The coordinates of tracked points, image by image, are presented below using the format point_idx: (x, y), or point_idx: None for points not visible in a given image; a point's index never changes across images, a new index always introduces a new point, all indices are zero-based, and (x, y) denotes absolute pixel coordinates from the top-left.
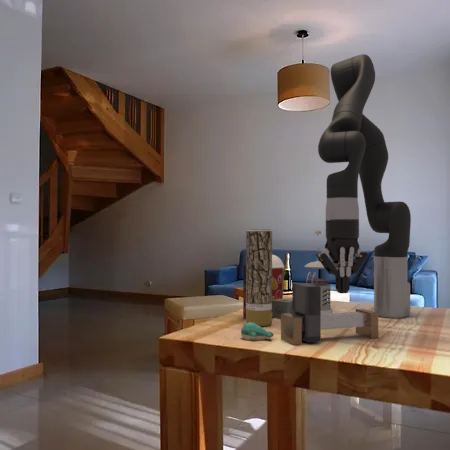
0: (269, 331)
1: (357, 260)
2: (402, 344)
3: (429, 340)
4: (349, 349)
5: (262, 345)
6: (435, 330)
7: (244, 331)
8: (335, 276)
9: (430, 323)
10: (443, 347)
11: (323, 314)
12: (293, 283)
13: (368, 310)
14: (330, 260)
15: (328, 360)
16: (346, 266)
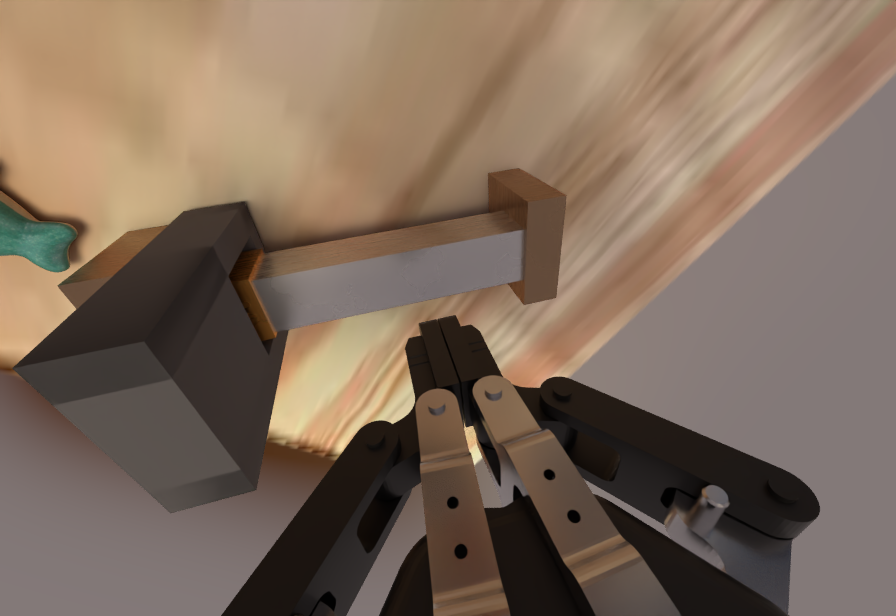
0: (40, 245)
1: (639, 497)
2: (527, 326)
3: (622, 294)
4: (362, 364)
5: (46, 316)
6: (755, 177)
7: None
8: (413, 409)
9: (872, 46)
10: (591, 353)
11: (321, 287)
12: (27, 379)
13: (557, 245)
14: (347, 612)
15: (273, 440)
16: (500, 495)
